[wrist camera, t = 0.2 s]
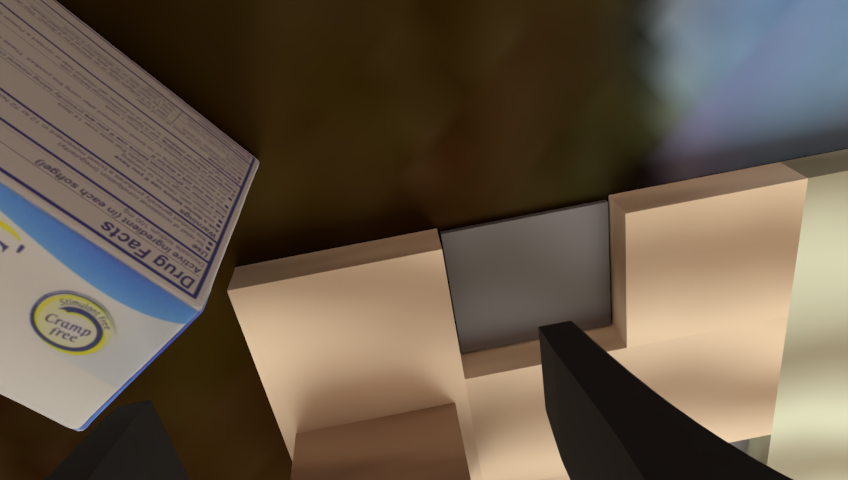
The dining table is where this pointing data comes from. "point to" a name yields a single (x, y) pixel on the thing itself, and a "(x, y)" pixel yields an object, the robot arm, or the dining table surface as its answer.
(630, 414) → the robot arm
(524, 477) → the trap track
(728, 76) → the dining table surface
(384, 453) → the walnut block
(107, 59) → the medicine box
